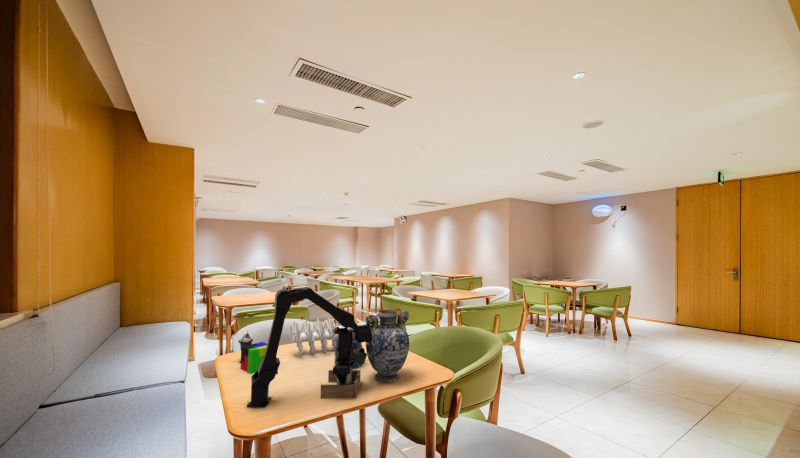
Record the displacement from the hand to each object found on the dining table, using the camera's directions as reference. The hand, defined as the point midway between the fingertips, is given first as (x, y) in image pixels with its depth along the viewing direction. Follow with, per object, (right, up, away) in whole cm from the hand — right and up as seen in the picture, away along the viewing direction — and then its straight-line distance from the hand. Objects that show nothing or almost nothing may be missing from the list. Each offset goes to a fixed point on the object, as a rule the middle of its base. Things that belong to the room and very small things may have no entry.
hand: (344, 384), depth 131 cm
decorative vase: (+16, -3, +13) cm, 21 cm away
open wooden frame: (-1, -2, 0) cm, 2 cm away
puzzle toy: (-43, -3, +22) cm, 49 cm away
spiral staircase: (-22, -5, +45) cm, 51 cm away
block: (0, -2, 0) cm, 2 cm away
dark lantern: (-53, -3, +31) cm, 61 cm away
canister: (-3, -4, +28) cm, 28 cm away
